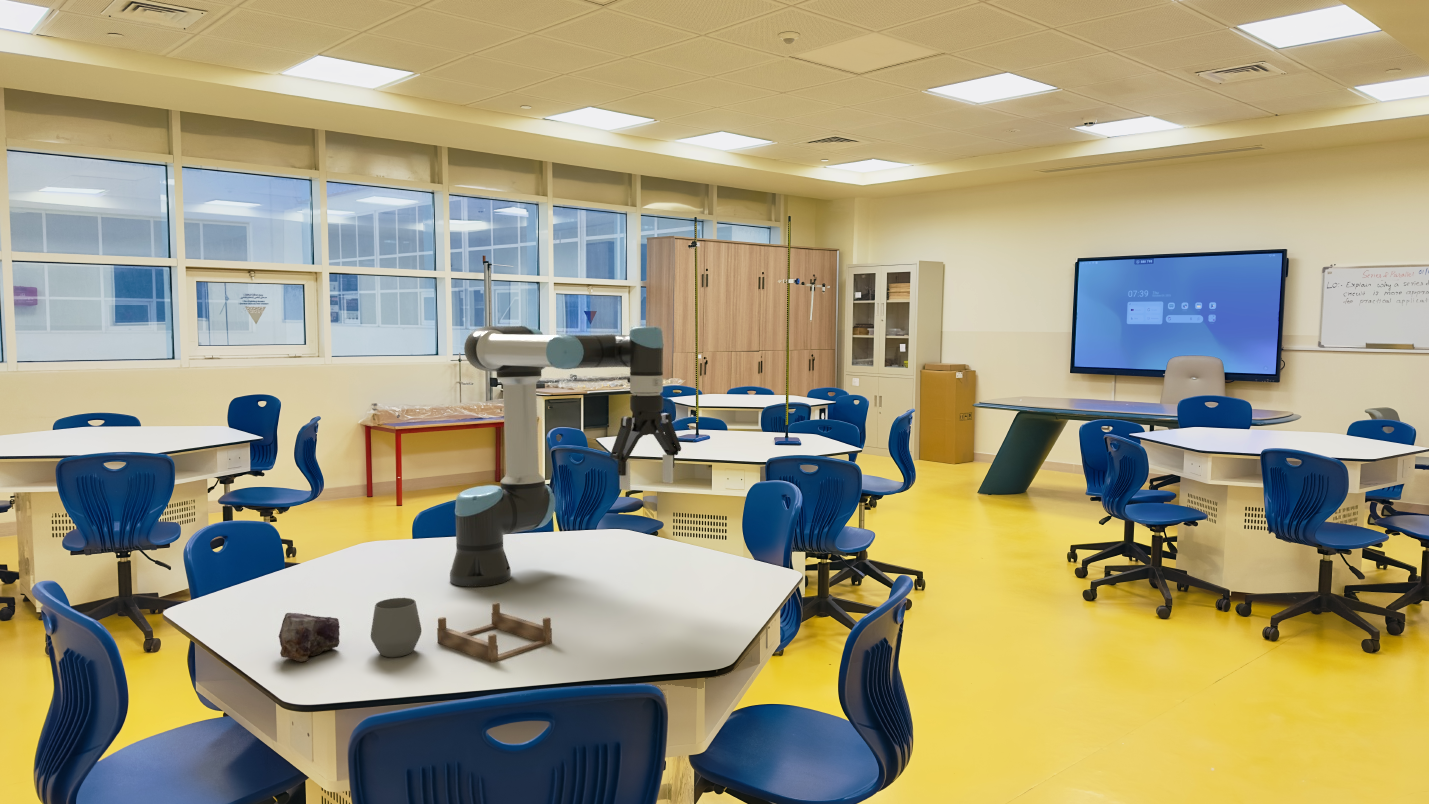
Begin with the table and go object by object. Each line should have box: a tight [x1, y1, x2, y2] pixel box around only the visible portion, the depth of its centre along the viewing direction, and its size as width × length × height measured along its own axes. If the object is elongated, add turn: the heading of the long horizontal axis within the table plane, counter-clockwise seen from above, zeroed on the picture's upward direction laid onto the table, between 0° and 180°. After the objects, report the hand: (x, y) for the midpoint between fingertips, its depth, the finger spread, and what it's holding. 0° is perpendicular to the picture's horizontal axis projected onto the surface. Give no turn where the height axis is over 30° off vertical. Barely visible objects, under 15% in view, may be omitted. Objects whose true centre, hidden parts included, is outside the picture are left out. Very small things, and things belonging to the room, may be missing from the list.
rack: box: [436, 602, 553, 663], centre depth 189 cm, size 18×15×5 cm
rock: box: [278, 612, 340, 663], centre depth 182 cm, size 12×9×10 cm
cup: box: [370, 597, 422, 658], centre depth 183 cm, size 10×9×10 cm
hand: (646, 486), depth 214 cm, fingers open, 13 cm apart
